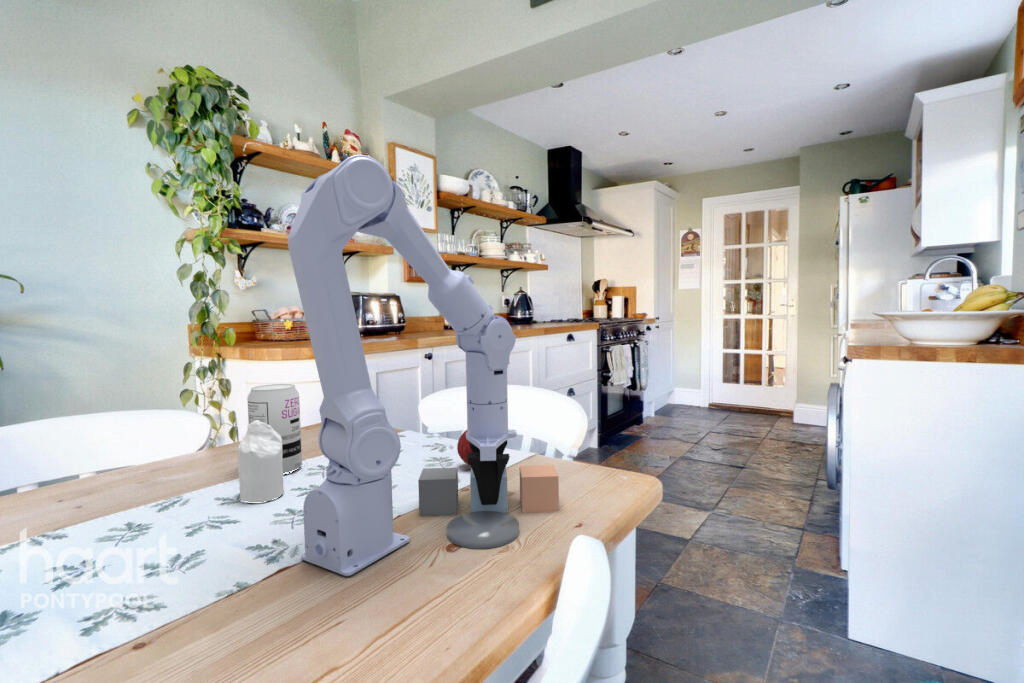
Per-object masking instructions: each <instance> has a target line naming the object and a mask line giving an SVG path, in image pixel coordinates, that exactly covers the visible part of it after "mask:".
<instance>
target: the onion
mask: <svg viewBox="0 0 1024 683" xmlns="http://www.w3.org/2000/svg"><path fill="white" fill-rule="evenodd" d="M466 432H467V429H466V430H464V431H463V433H462V434H461V435H460V437H459V438H458V442H457V445H456V446H457V448H456V450H457V454H458V457H459V458H460V459H461V460H462V462H464V463H465V464H466V465H468V466H470V465H469V463H468V460H467V453H472V450H471V448H470V446H469V441H468V440H467V439H466Z"/></svg>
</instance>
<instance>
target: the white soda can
mask: <svg viewBox="0 0 1024 683" xmlns="http://www.w3.org/2000/svg"><path fill="white" fill-rule="evenodd" d="M246 399H247V412H248V413H247V416H248V418H247V419H248V425H249V424H250V423H252V422H253V421H256V420H258V421H260V422H263V423H266V424H267V425H270V426H271V427H272V428H273V429H274V431H276V432H277V433H278V434H279V435H280V436H281V439H282V454H283V455H282V465H283V473H285V472H289V471H292V470H295V469H297V468H299V469H300V467H301V466H302V465H303V450H302V433H301V431H302V428H301V409H300V408H301V406H300V393H299V391H298V390H297V388H296V386H295V384H292V383H275V384H264V385H263V384H262V385H257V386H253V387H251V389H250V392H249V393H248V396H247V398H246Z"/></svg>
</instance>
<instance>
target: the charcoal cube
mask: <svg viewBox="0 0 1024 683" xmlns="http://www.w3.org/2000/svg"><path fill="white" fill-rule="evenodd" d="M458 470H459V468H458V467H433V468H429V467H427V468H422V470H421V473H420V476H419V478H418V479H417V480H418V481H417V482H418V484H417V485H418V510H419V512H418V513H419V514H418V515H419V517H420V516H421V517H423V516H424V517H425V516H443V515H444V516H447V515H449V516H450V515H457V512H458V506H459V475H458V474H459V471H458Z"/></svg>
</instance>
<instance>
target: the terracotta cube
mask: <svg viewBox="0 0 1024 683" xmlns="http://www.w3.org/2000/svg"><path fill="white" fill-rule="evenodd" d="M559 485H560V484H559V474H558V472H557V469H556V467H555V465H554V464H544V465H542V464H540V465H538V464H537V465H519V499H520V505H521V511H522V513H524V514H525V513H548V512H549V513H551V512H554V511H555V512H559V511H560V505H559V504H560V503H559V502H560V501H559V500H560V499H559V498H560V496H559Z"/></svg>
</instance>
